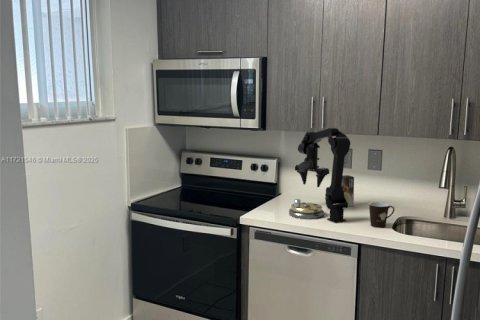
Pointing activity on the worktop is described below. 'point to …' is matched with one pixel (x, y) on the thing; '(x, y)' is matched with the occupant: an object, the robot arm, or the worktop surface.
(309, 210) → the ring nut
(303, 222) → the worktop surface
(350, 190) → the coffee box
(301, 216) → the housing
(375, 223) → the coffee mug
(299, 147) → the robot arm
